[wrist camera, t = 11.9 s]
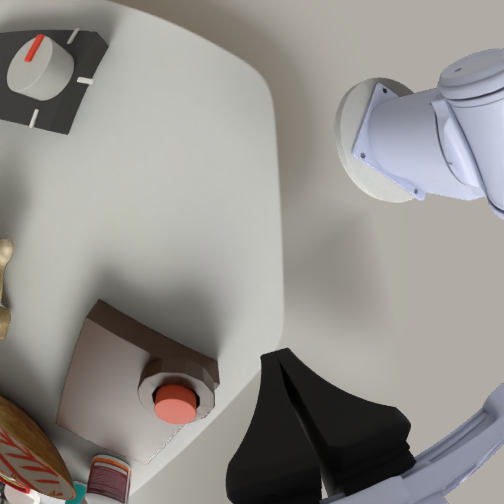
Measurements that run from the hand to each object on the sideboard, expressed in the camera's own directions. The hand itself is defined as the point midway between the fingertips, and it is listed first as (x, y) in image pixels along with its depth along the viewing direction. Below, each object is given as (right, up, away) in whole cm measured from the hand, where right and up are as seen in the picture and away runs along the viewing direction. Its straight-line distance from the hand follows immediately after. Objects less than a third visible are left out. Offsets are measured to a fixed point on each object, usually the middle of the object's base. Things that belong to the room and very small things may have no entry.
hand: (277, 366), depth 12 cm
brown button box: (-14, -9, +11) cm, 20 cm away
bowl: (-38, -21, +11) cm, 44 cm away
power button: (-7, -6, +7) cm, 12 cm away
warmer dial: (-15, +18, 0) cm, 24 cm away
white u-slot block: (-66, -60, +18) cm, 91 cm away
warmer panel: (-21, +21, +1) cm, 30 cm away
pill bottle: (-22, -26, +15) cm, 37 cm away
